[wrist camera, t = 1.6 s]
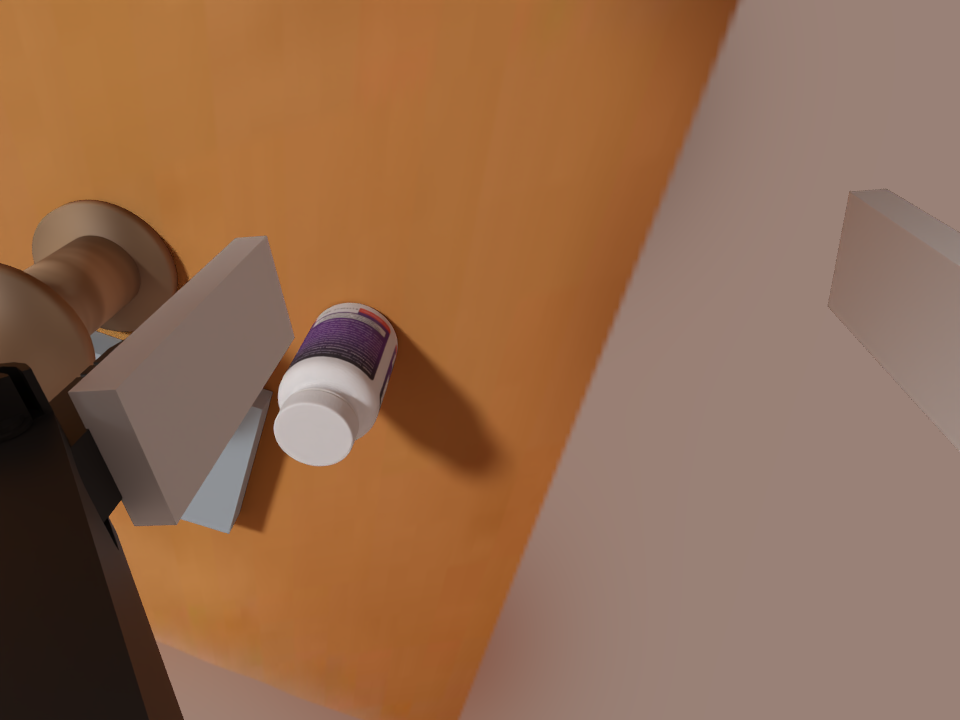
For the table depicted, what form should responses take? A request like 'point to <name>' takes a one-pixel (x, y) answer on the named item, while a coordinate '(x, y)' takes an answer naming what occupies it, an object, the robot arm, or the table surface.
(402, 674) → the table surface
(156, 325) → the robot arm
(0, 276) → the bobbin
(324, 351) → the pill bottle
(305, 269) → the table surface
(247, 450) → the notched board
